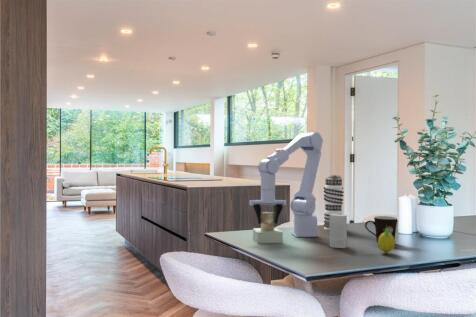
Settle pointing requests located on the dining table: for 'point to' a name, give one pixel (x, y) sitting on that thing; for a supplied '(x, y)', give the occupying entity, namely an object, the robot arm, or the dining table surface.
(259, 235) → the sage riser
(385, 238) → the lemon
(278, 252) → the dining table surface
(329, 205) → the decorative candle
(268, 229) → the maple block
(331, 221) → the skincare box
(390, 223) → the coffee mug
